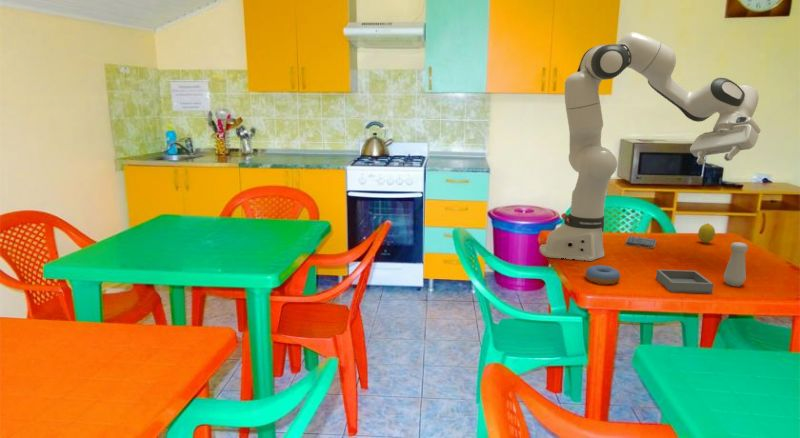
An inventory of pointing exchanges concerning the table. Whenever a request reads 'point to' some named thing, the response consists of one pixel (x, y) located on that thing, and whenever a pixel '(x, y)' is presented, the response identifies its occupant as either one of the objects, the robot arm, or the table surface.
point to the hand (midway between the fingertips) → (713, 161)
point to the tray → (684, 281)
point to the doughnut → (602, 274)
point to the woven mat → (641, 242)
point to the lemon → (706, 233)
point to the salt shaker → (736, 265)
